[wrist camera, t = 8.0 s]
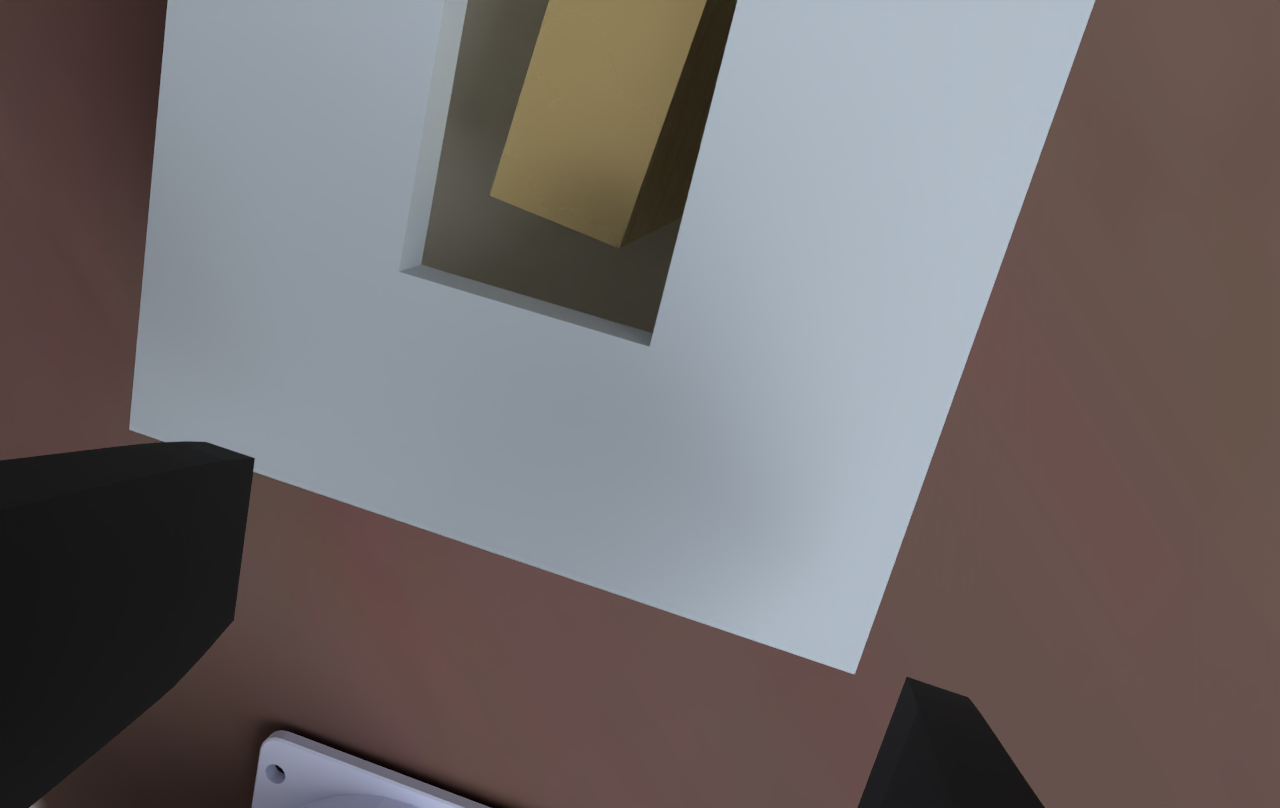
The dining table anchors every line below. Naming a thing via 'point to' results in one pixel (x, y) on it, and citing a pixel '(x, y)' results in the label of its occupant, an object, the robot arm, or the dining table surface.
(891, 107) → the tissue box
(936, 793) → the robot arm
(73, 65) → the dining table surface
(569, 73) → the tan wooden block
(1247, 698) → the dining table surface
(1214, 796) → the dining table surface
